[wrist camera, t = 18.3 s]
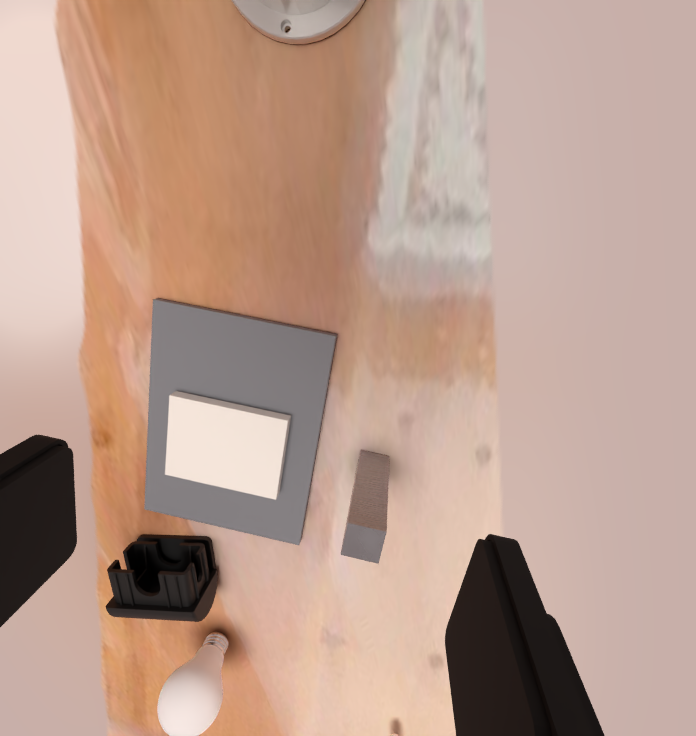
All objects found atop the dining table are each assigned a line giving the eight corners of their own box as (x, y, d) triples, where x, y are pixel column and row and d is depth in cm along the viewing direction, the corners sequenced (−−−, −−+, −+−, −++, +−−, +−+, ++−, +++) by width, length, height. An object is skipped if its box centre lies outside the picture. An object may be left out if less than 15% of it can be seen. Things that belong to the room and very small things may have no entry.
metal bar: (360, 449, 43) (347, 522, 32) (389, 455, 43) (386, 531, 31) (355, 474, 44) (340, 554, 32) (383, 481, 44) (378, 563, 32)
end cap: (146, 582, 51) (110, 630, 45) (135, 533, 50) (96, 576, 43) (223, 586, 50) (197, 636, 44) (215, 536, 48) (187, 580, 42)
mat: (158, 298, 41) (153, 299, 40) (337, 334, 40) (335, 336, 39) (149, 504, 48) (144, 509, 47) (301, 539, 47) (299, 545, 46)
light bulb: (236, 663, 53) (197, 765, 43) (188, 643, 53) (137, 740, 43) (252, 627, 51) (215, 725, 41) (203, 606, 51) (153, 698, 41)
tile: (169, 395, 41) (164, 474, 44) (287, 420, 40) (276, 499, 43) (177, 389, 42) (172, 466, 45) (291, 414, 42) (280, 491, 44)
